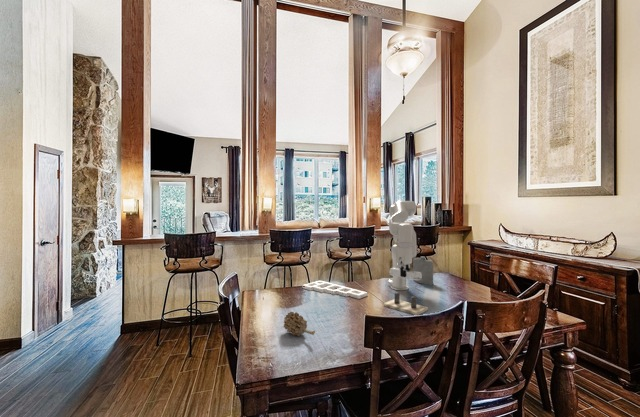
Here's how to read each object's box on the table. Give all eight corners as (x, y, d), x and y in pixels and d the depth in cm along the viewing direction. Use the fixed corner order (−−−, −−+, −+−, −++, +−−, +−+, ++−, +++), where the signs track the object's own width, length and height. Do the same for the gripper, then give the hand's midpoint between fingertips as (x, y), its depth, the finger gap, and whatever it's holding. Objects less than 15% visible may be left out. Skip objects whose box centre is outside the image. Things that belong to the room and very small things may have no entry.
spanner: (388, 274, 185) (388, 268, 185) (392, 273, 188) (392, 267, 188) (419, 281, 170) (419, 273, 170) (423, 279, 173) (423, 272, 173)
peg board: (383, 305, 183) (383, 293, 183) (394, 301, 192) (394, 289, 191) (417, 315, 167) (417, 301, 167) (427, 309, 176) (427, 296, 176)
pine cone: (277, 332, 147) (277, 312, 147) (292, 326, 154) (292, 307, 154) (310, 347, 132) (309, 325, 132) (324, 340, 139) (324, 318, 139)
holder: (367, 296, 203) (367, 292, 203) (350, 303, 190) (350, 298, 190) (319, 283, 235) (319, 280, 235) (302, 288, 222) (302, 285, 222)
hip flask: (433, 284, 229) (433, 257, 228) (431, 285, 226) (431, 258, 226) (414, 280, 241) (414, 255, 240) (412, 281, 238) (412, 255, 237)
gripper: (406, 243, 187) (406, 272, 187) (391, 245, 175) (391, 277, 176) (418, 244, 182) (418, 274, 182) (403, 247, 170) (403, 279, 170)
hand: (405, 275), depth 179 cm, fingers closed on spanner, 4 cm apart
